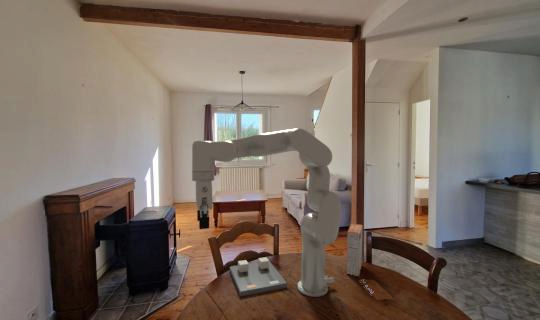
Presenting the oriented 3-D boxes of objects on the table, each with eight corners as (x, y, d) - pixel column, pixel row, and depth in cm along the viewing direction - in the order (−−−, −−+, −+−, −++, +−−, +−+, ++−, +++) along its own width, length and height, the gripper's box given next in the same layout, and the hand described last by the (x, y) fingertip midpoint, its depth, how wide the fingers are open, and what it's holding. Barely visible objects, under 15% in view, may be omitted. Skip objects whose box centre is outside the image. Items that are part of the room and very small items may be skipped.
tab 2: (266, 264, 119) (266, 257, 119) (269, 267, 115) (269, 260, 115) (258, 265, 118) (258, 258, 117) (260, 269, 114) (261, 261, 114)
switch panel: (269, 264, 124) (269, 260, 124) (286, 287, 103) (286, 282, 103) (229, 270, 117) (229, 266, 117) (240, 296, 96) (240, 291, 96)
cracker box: (349, 262, 128) (351, 223, 127) (362, 265, 125) (363, 224, 124) (345, 274, 115) (346, 230, 114) (359, 277, 112) (360, 232, 112)
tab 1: (246, 267, 115) (246, 259, 115) (248, 271, 112) (248, 263, 112) (237, 268, 114) (238, 261, 114) (239, 272, 110) (239, 264, 110)
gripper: (217, 178, 79) (217, 231, 79) (211, 173, 95) (210, 217, 96) (193, 179, 76) (193, 233, 77) (191, 173, 92) (190, 218, 93)
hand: (202, 224), depth 86 cm, fingers open, 9 cm apart
